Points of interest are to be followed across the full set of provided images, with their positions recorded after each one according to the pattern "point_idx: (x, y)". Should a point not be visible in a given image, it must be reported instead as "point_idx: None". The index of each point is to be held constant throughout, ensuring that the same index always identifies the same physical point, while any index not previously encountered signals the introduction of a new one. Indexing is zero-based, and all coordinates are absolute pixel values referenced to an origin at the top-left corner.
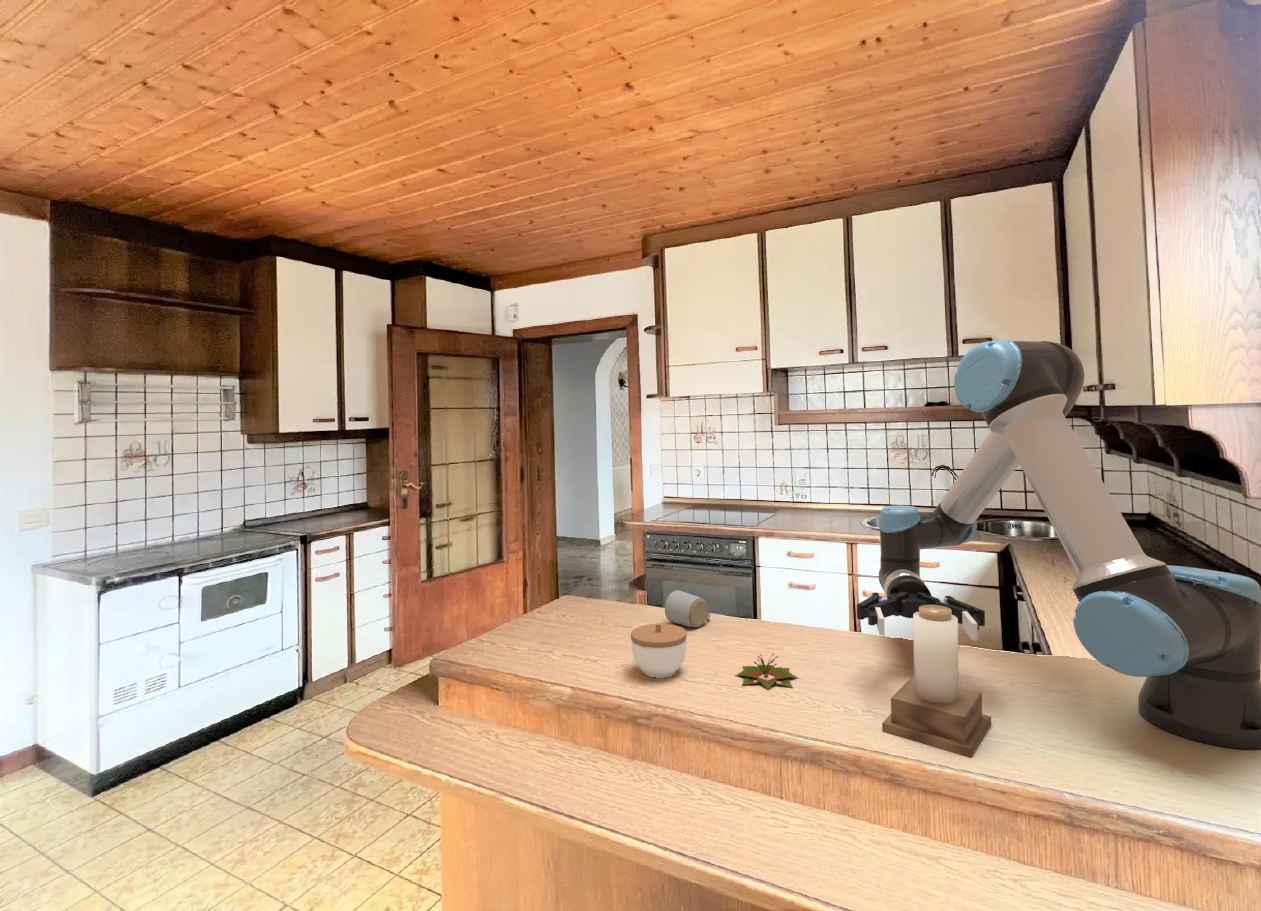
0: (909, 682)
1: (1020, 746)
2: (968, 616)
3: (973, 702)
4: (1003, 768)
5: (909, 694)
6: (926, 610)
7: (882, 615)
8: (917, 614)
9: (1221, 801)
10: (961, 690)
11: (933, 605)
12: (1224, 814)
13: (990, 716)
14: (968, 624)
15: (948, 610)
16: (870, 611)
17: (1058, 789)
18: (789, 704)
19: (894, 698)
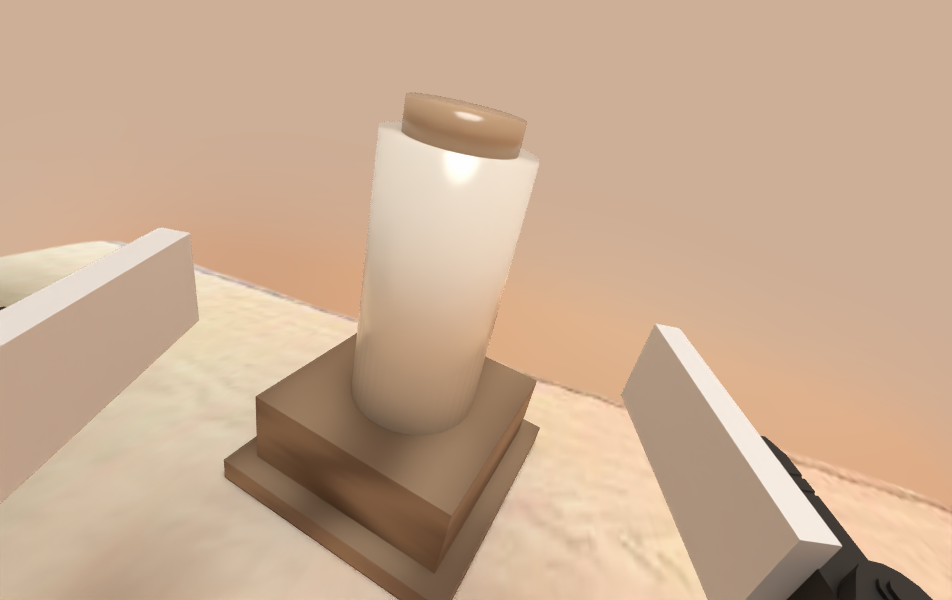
0: (475, 462)
1: (240, 386)
2: (58, 298)
3: (328, 354)
4: (337, 337)
5: (488, 393)
6: (502, 112)
7: (684, 363)
8: (523, 160)
9: (38, 265)
10: (318, 409)
11: (462, 113)
12: (85, 254)
13: (226, 459)
14: (134, 306)
15: (421, 95)
16: (838, 539)
17: (286, 300)
18: None
19: (528, 377)
